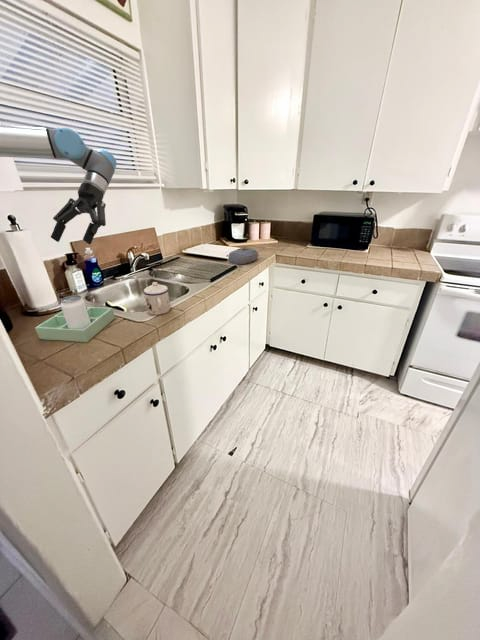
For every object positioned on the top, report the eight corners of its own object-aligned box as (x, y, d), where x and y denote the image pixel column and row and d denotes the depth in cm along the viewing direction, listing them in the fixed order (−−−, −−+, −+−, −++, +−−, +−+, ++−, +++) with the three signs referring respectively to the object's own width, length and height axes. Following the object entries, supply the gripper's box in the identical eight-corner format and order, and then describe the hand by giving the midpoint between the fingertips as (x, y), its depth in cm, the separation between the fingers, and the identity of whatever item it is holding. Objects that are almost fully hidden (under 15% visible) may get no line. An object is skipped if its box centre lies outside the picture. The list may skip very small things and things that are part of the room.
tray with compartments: (39, 339, 85) (34, 327, 83) (73, 316, 99) (70, 305, 97) (87, 342, 83) (83, 330, 81) (114, 318, 98) (112, 307, 96)
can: (68, 331, 87) (56, 298, 81) (89, 325, 91) (79, 293, 85) (74, 339, 83) (61, 304, 77) (95, 331, 87) (85, 298, 81)
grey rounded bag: (243, 266, 157) (263, 259, 171) (243, 252, 153) (263, 247, 167) (225, 262, 166) (245, 256, 179) (225, 248, 162) (245, 243, 176)
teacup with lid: (146, 307, 106) (141, 280, 100) (168, 304, 109) (165, 277, 103) (149, 320, 96) (144, 291, 90) (174, 316, 99) (170, 287, 94)
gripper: (128, 198, 93) (108, 249, 88) (73, 197, 100) (51, 244, 94) (115, 181, 86) (92, 235, 81) (56, 181, 93) (31, 231, 87)
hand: (70, 240), depth 87 cm, fingers open, 13 cm apart
